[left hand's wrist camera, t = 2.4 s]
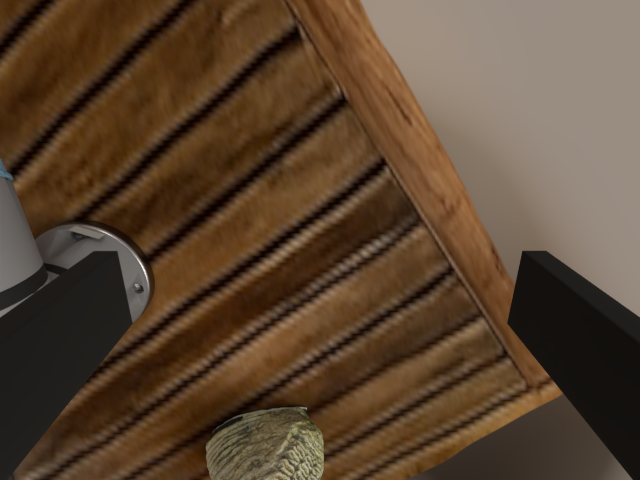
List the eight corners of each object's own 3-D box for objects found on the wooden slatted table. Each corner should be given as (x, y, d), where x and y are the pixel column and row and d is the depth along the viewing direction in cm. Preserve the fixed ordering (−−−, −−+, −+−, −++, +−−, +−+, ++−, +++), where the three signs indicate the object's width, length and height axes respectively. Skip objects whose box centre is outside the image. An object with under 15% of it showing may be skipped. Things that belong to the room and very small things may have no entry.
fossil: (332, 422, 59) (336, 525, 45) (234, 466, 62) (209, 574, 48) (302, 382, 56) (296, 479, 42) (201, 431, 60) (164, 535, 46)
